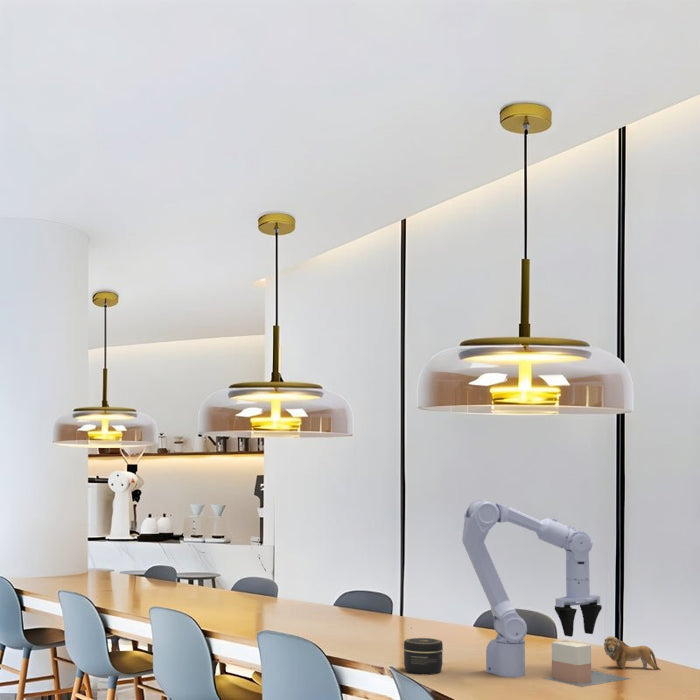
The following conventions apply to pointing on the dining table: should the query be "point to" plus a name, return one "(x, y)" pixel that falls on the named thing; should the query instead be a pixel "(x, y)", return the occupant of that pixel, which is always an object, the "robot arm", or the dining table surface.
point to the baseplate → (594, 679)
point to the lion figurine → (628, 653)
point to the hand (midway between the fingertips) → (578, 634)
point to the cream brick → (571, 652)
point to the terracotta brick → (571, 672)
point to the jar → (423, 655)
